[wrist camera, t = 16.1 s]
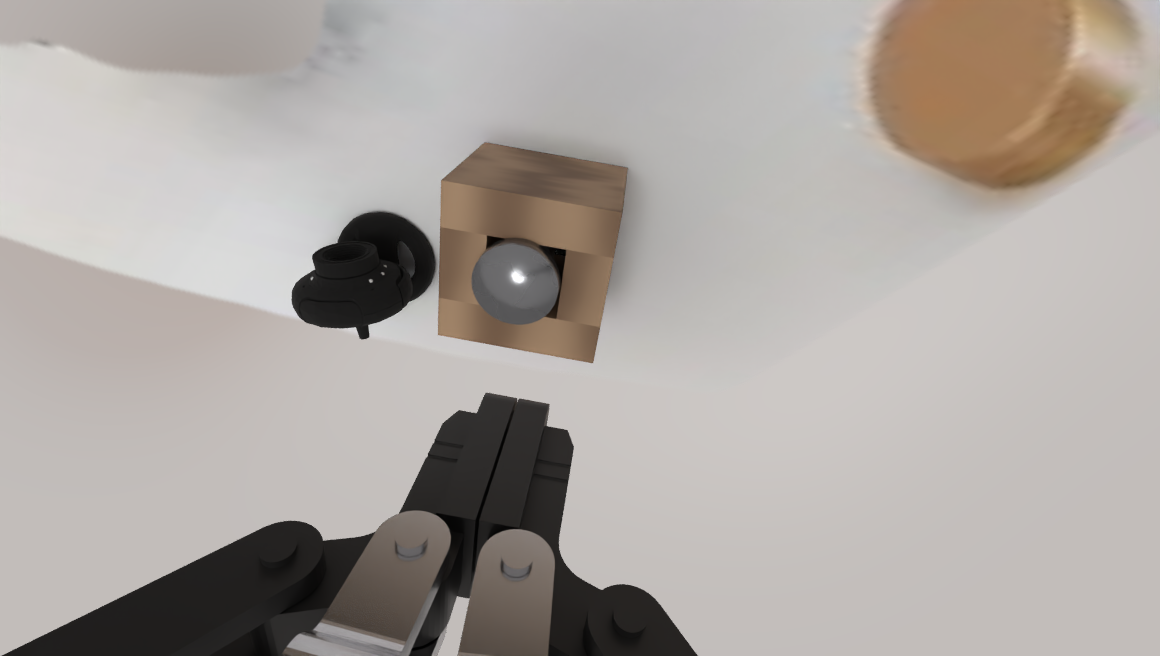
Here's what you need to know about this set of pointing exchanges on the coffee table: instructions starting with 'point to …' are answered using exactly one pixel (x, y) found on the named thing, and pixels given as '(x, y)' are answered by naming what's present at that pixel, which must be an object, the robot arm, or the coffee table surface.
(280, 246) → the coffee table surface
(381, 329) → the coffee table surface
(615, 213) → the block
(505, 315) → the pin
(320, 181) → the coffee table surface
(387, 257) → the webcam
